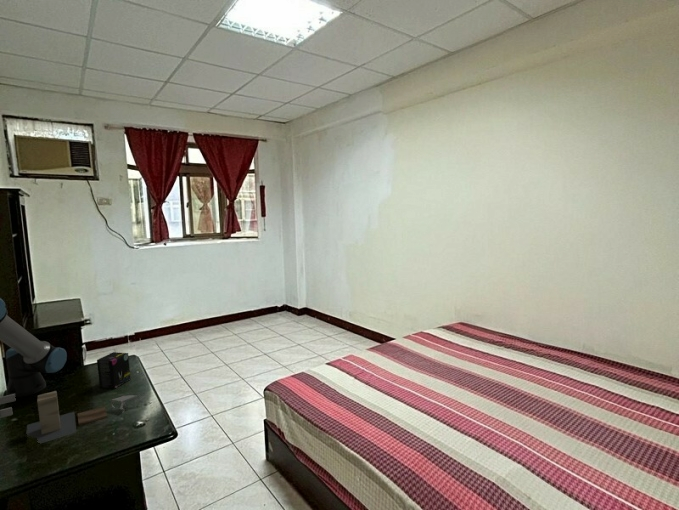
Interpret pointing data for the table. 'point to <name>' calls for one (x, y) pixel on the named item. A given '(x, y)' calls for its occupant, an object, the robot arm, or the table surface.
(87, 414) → the walnut pad
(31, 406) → the table surface
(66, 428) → the tile
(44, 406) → the birch block
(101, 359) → the tampon box
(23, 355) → the robot arm
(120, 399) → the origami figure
